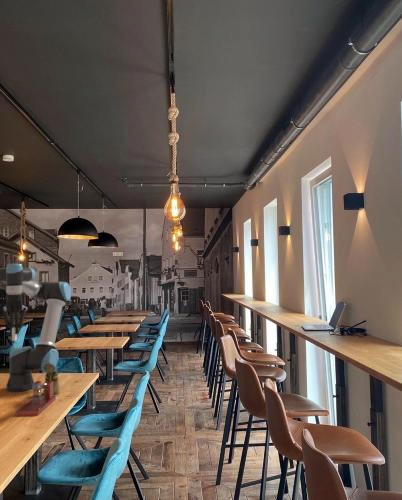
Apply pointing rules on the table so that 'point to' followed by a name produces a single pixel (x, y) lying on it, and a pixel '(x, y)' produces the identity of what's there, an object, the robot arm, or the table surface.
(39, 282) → the robot arm
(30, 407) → the nutcracker base
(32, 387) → the nutcracker lever
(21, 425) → the table surface
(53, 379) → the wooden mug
